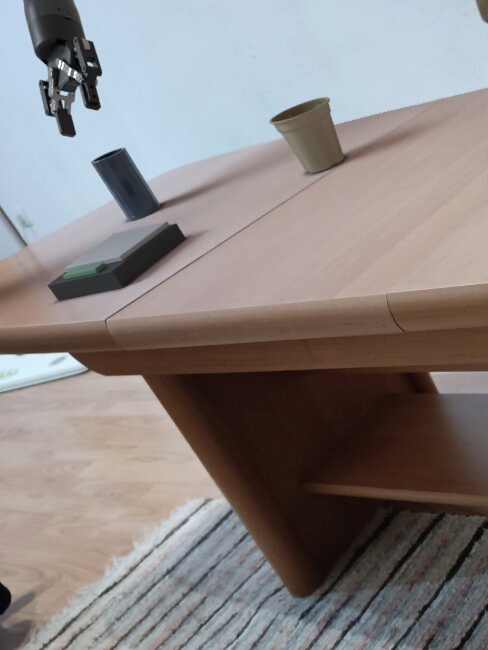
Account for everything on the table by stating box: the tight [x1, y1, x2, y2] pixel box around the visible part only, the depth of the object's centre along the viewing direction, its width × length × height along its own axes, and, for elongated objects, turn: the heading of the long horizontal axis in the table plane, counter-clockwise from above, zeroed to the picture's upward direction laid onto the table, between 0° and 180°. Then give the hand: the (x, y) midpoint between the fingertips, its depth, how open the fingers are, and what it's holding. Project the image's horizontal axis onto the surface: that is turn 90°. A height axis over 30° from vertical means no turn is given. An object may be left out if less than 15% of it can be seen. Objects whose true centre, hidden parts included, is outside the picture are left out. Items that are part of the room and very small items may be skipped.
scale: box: [46, 221, 187, 301], centre depth 119 cm, size 12×14×3 cm
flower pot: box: [268, 96, 345, 174], centre depth 131 cm, size 9×9×9 cm
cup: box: [90, 147, 162, 222], centre depth 142 cm, size 6×6×10 cm
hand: (80, 122), depth 135 cm, fingers open, 8 cm apart
